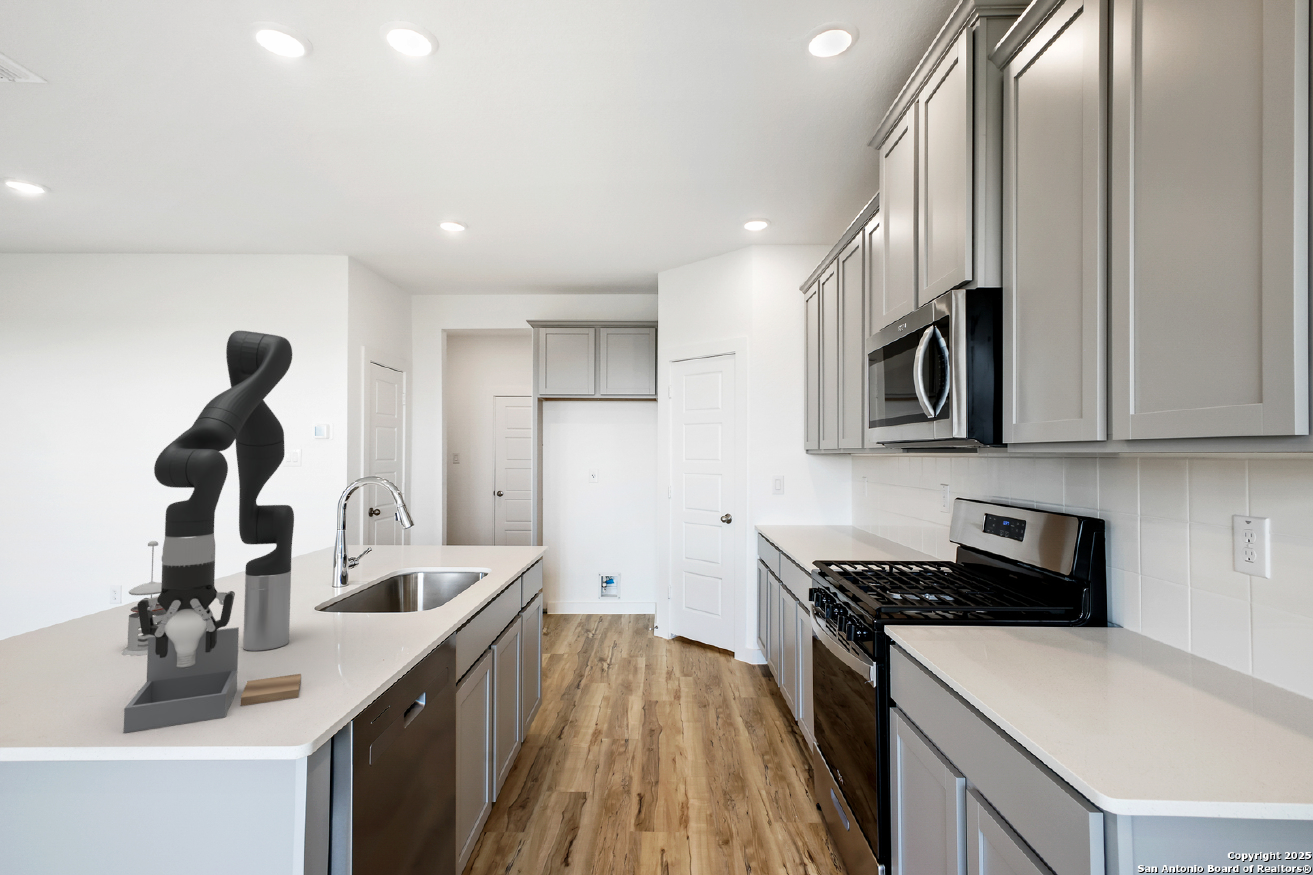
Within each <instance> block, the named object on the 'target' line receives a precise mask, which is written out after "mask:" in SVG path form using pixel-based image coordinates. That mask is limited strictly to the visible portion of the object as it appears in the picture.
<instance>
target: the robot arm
mask: <svg viewBox="0 0 1313 875" xmlns="http://www.w3.org/2000/svg"><path fill="white" fill-rule="evenodd" d="M225 353H226V354H225V355H226V364H227V371H228V377H229V382H230V388H228V389H226V390H225V391H223V392H220V393H219V394H218V395H216V396H215V397H214V398H212V399H210V401H209V402H207V403H206V405H205V406H204V407H203V409H202V410H201V412H200V413H199V415H198V416H197V418H196V420H195V421H194V423H193V424H192V426H191V427H190V428H188V429H187V430H186V431H184V432H183V433H181V434H180V435H179V436H178V437H177V438H176V439H174V440H173V441H172V442H171V443H169V444H168V445H167V446H166V447H164V448H163V449H162V451H161V452H160V453H159V455H158V457H157V458H156V459H155V463H154V467H153V469H154V470H153V471H154V472H153V474H154V477H155V479H156V481H157V482H158V483H159V484H161V485H163V486H165V487H167V488H176V489H177V488H178V489H179V488H180V489H181V488H185V489H186V488H188V489H190V488H191V489H192V488H193V490H192V493H191V495H190V497H189V498H188V499H185V500H181V501H176V502H173V503H170V504H169V505H167V507H166V510H165V522H164V524H165V525H164V539H163V540H164V542H163V546H162V554H161V583H162V585H161V593H159V594H158V596H154V597H152V598H151V597H150V598H149V597H145V598H143V599H141V600H140V601H139V602H138V603H137V605H136V606H137V607H138V612H139V619H140V625H141V628H140V630H141V631H142V633H141V635H147V634H149V635H153V636H155V638H156V645H155V646H156V647H155V653H156V655H160V658H164V657H166V656H167V654H168V637H167V635H166V633H165V625H166V624H167V623H168V621H169V620H170V619H171V618H172V617H173V616H174V615H175V613H176V612H177V611H180V610H183V609H194V610H195V611H196V613H197V614H198V615H200V616H201V617H202V619H203V620H204V621H206V629H207V630H206V631H207V632H206V645H205V652H206V653H207V652H211V650H212V649H213V648H214V647H215V646H216V644H217V629H222V628H226V627H227V625H228V624H229V622H230V619H231V615H232V610H233V605H234V601H235V600H234V599H235V595H236V594H235V591H234V590H233V591H232V590H230V591H228V592H224V591H223V592H221V591H217V588H215V573H216V572H215V570H216V569H215V568H216V566H215V565H216V541H215V516H216V515H215V513H216V509H217V506H218V503H219V499H220V497H221V493H222V491H223V488H224V485H225V483H226V480H227V477H228V472H229V466H228V461H227V459H226V457H225V455H224V454H223V453H222V452H223V451H226V450H227V449H229V448H230V447H231V446H232V445H233V444H234V442H235V450H236V451H235V452H236V453H235V454H236V463H237V464H236V465H237V471H238V472H237V473H238V480H239V481H238V485H239V490H238V491H239V498H238V499H239V500H238V501H239V502H238V504H239V505H238V507H239V508H238V527H239V528H238V531H239V536H240V540H241V541H242V543H243V544H245V545H272V544H273V545H276V546H275V549H273V550H272V551H271V552H268V553H267V554H264V555H262V556H260V557H257V558H253V559H251V560H249V561H248V562H246V564H245V571H244V572H245V576H244V579H245V580H244V612H243V613H244V614H243V635H242V639H243V640H242V648H243V650H247V651H255V652H256V651H267V650H272V649H277V648H281V647H284V646H286V645H288V644H289V642H290V627H291V626H290V622H291V620H290V619H291V591H292V589H291V588H292V582H291V581H292V552H293V551H292V548H293V547H292V546H293V538H294V537H293V535H294V526H295V514H294V513H295V512H294V510H293V508H292V506H290V504H289V505H288V504H266V505H265V504H263V505H262V504H261V505H260V504H259V505H258V503H257V499H258V496H259V495H260V493H261V491H262V490H263V488H264V486H265V485H266V483H267V482H268V481H269V479H271V477H272V476H273V475H274V474H275V472H276V471H277V470H278V469H279V467H280V465H281V464H282V463H283V460H284V458H285V453H286V452H285V432H284V429H283V426H282V424H281V422H280V420H279V419H278V418H277V416H276V414H275V413H274V412H273V411H272V409H271V408H270V407H269V406H268V405H267V403H266V402H265V400H264V399H265V398H266V397H267V396H268V395H269V394H270V393H271V392H272V390H273V389H274V388H275V387H276V386H277V385H278V384H279V382H280V381H281V380H282V379H283V378H284V376H286V374H287V372H288V371H289V370H290V366H291V364H292V360H293V347H292V345H291V343H290V341H289V340H288V339H287V338H286V337H283V336H281V335H276V334H272V333H271V334H269V333H263V332H256V331H247V330H235V331H233V332H232V333H231V334H230V336H229V337H228V339H227V343H226V352H225ZM216 599H217V600H218V602H219V605H221V606H222V608H221V614H220V618H219V619H217V620H216V618H215V616H214V614H213V612H212V610H211V608H210V605H211V604H212V603H213V602H214V601H215V600H216ZM157 603H158V604H160V606H161V607H162V608H163V609H164V610H165V611H166V612H167V613H166V615H165V616H164V618H163V620H162V621H161V623H160V625H159V626H154V621H153V617H154V615H152V610H153V609H154V608H155V607H156V604H157ZM202 614H203V615H202ZM168 617H169V618H168Z"/></svg>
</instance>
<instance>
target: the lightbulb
mask: <svg viewBox="0 0 1313 875" xmlns="http://www.w3.org/2000/svg"><path fill="white" fill-rule="evenodd" d="M202 615H203V614H202ZM168 618H169V617H168ZM206 631H207V629H206V621H204V620H203V619H202V617H201V616H200V615H198V614H197V613H196V611H195V610H194V609H183V610H180V611H177V612H176V613H175V615H174V616H173V617H172V618H171V619H170V620H169V621H168V623H167V624H166V625H165V633H166V635H167V637H168V638H169V639H170V640H171V641H172V642H173V644H174V647H175V651H176V652H177V665H176V666H177V667H179V668H182V669H187V668H189V667H191V666H192V665H194V664H195V659H196V658H195V657H196V656H195V655H196V649H197V647H198V644H199V641H200V639H201V637H202V636H203V635H204V633H205V632H206Z"/></svg>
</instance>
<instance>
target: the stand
mask: <svg viewBox="0 0 1313 875" xmlns="http://www.w3.org/2000/svg"><path fill="white" fill-rule="evenodd" d="M301 681H302V673H296V674H288V675H282V676H273V677H266V678H259V679H258V678H257V679H252V680H247V681H246V684H245V686H244V688H243V691H242V693H241V695H240V704H239V705H240V707H243V706H250V705H257V704H263V703H271V702H277V701H282V700H289V699H290V698H291V699H296V698H299V694H300V690H301ZM291 699H290V700H291Z"/></svg>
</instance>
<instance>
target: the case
mask: <svg viewBox="0 0 1313 875" xmlns="http://www.w3.org/2000/svg"><path fill="white" fill-rule="evenodd" d="M239 628H240V627H229V628H219V629H217V644H216V646H215V647H214V648H213V649H212V650H211V652H207V653H206V652H205V645H206V632H207V630H206V632H205V633H204V635H203V636H202V637H201V639H200V641H199V644H198V647H197V649H196V655H195V656H196V657H195V658H196V659H195V664H194V665H192V666H191V667H189V668H187V669H182V668H179V667H177V666H176V665H177V652H176V651H175V647H174V644H173V642H172V641H171V640H170V639H169V638H168V654H167V656H166V657H164V658H160V655H156V653H155V647H156V646H155V645H156V638H155V636H149V637H148V655H147V658H146V662H147V663H146V682H144V684H143V685H142V687H141V688H140V689H138V691H137V692H136V693H135V695H134V696H133V697H132V699H131V700H130V701H128V703H127V704H126V706H125V707H124V710H123V733H122V734H127V733H133V732H139V731H146V730H147V731H148V730H153V729H158V728H159V729H160V728H165V727H171V726H179V725H184V724H190V723H196V722H203V721H210V720H216V719H223V718H226V716H227V713H228V712H229V709H230V706H231V704H232V702H233V699H234V697H235V694H236V692H237V690H238V665H239V663H238V662H239V633H240V629H239Z"/></svg>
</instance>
